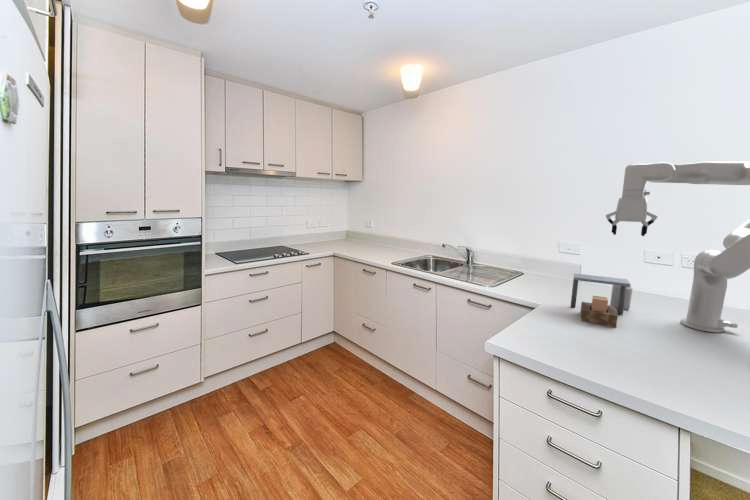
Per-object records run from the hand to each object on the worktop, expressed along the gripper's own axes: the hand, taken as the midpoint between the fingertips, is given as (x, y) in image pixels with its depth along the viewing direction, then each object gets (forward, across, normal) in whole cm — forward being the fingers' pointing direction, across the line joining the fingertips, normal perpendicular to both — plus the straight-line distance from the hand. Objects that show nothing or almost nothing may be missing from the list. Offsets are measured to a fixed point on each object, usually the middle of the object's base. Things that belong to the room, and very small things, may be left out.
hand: (628, 235), depth 138 cm
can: (+36, -2, -12) cm, 38 cm away
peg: (+36, +8, +13) cm, 39 cm away
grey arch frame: (+36, +8, +2) cm, 37 cm away
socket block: (+36, +8, +11) cm, 38 cm away
